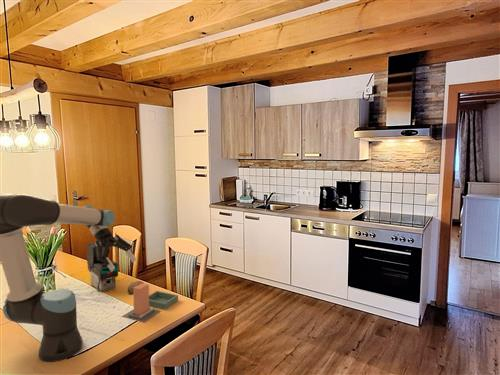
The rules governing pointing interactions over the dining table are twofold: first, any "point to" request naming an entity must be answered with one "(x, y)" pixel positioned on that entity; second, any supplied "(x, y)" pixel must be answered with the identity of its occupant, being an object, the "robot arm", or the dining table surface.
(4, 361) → the dining table surface
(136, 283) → the bread roll
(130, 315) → the gray recessed plate
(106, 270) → the bill acceptor
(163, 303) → the tray
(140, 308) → the salmon pink block
